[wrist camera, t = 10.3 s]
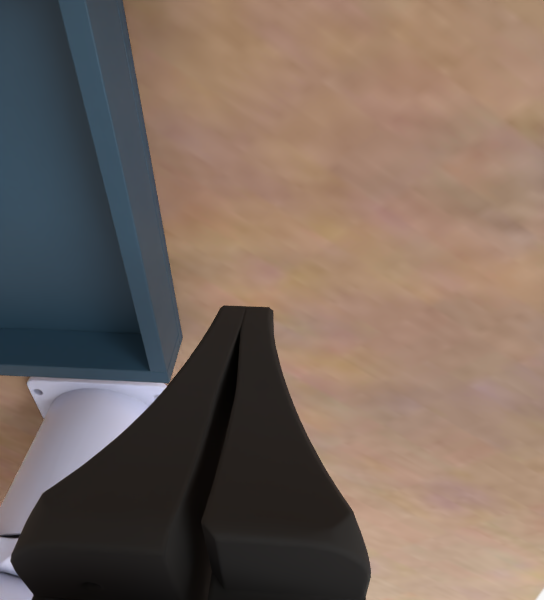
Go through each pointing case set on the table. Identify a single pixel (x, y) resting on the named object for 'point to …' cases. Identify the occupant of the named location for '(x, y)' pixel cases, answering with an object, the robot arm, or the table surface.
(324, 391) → the table surface
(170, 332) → the tray
